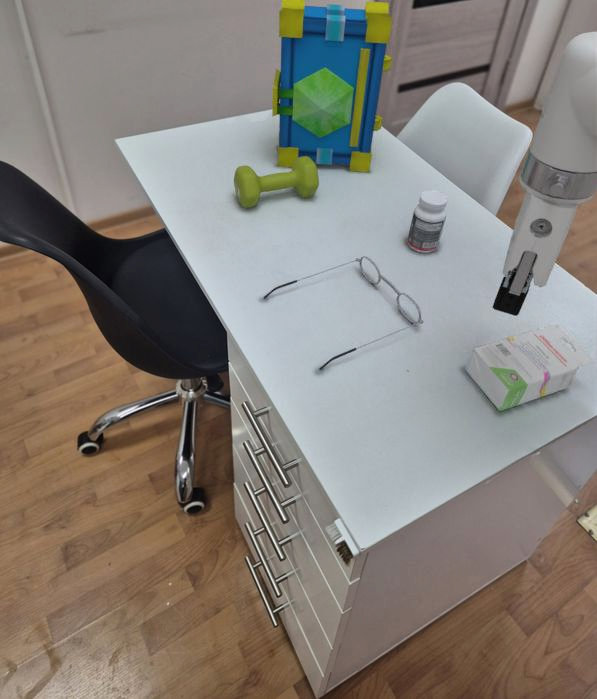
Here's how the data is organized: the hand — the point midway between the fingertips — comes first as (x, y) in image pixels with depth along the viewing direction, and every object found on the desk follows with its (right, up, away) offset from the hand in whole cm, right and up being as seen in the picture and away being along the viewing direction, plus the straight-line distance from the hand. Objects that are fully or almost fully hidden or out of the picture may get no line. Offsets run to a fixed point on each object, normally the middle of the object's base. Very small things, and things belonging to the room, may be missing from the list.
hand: (505, 308), depth 69 cm
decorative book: (-20, +37, +54) cm, 69 cm away
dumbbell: (-31, +25, +42) cm, 58 cm away
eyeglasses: (-19, 0, +18) cm, 27 cm away
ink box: (0, -9, +7) cm, 12 cm away
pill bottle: (-3, +14, +33) cm, 36 cm away
